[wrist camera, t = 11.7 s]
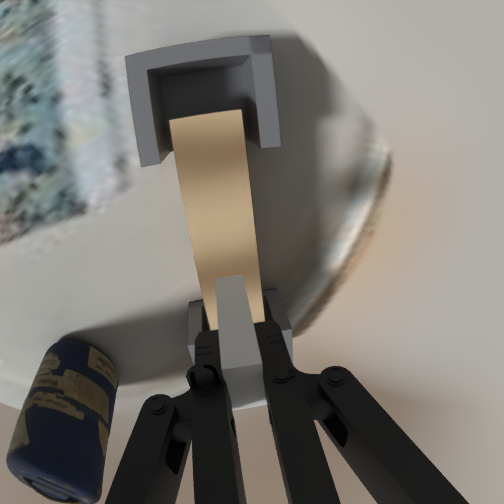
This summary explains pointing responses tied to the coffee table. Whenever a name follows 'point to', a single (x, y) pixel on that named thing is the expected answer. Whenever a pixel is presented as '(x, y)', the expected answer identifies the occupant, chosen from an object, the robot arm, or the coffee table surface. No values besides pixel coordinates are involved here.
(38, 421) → the canister
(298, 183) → the coffee table surface
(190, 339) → the endcap
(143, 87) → the endcap
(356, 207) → the coffee table surface
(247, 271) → the slat
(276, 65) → the coffee table surface
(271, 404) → the robot arm
